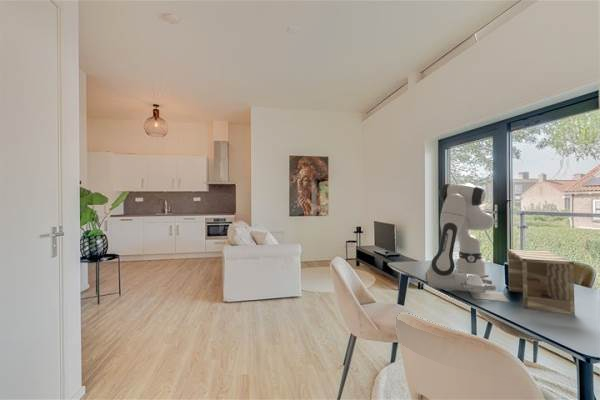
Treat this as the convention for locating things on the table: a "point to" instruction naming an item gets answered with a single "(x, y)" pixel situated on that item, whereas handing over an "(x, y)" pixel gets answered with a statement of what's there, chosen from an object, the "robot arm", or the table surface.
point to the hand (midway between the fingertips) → (493, 284)
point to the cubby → (543, 279)
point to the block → (533, 287)
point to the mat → (490, 296)
